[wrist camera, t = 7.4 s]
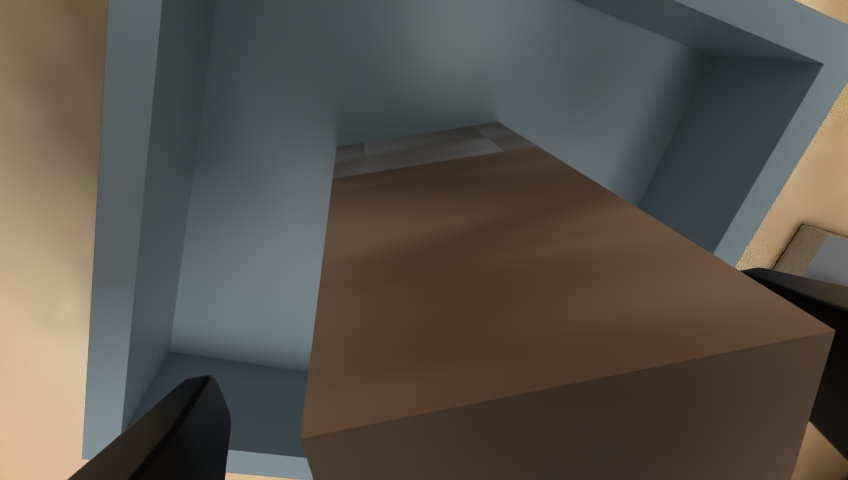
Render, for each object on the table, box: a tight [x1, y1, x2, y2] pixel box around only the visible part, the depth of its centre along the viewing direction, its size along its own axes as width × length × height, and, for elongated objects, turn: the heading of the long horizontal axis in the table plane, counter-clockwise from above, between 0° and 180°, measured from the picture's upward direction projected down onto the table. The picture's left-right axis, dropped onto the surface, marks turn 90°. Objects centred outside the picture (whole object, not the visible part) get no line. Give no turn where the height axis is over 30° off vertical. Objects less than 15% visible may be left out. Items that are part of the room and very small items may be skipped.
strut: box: [300, 122, 836, 480], centre depth 9 cm, size 4×4×10 cm
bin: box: [82, 0, 848, 480], centre depth 13 cm, size 14×14×4 cm
